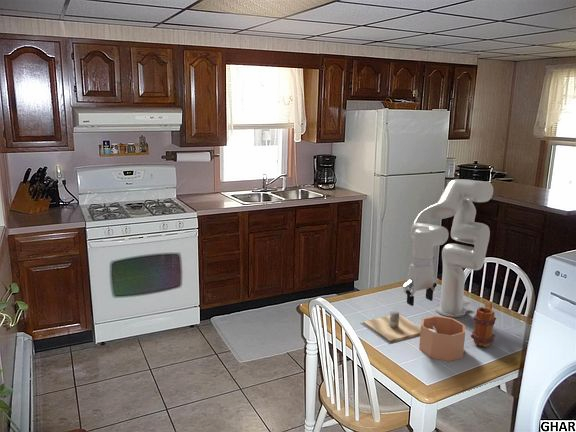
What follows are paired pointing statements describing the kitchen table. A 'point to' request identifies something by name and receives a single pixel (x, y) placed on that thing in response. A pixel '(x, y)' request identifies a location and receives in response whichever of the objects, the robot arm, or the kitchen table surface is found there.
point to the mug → (484, 325)
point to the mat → (386, 340)
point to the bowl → (442, 338)
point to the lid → (393, 327)
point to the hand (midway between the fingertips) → (419, 302)
